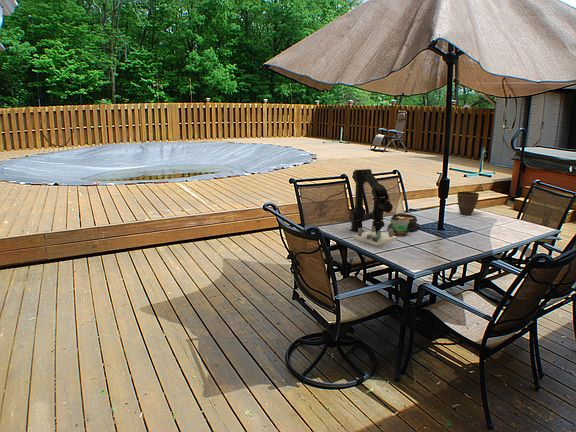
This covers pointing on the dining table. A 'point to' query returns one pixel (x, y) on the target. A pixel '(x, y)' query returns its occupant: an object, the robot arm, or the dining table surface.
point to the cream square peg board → (384, 237)
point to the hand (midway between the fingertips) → (376, 234)
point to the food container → (399, 227)
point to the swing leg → (375, 237)
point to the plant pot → (467, 202)
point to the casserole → (412, 219)
